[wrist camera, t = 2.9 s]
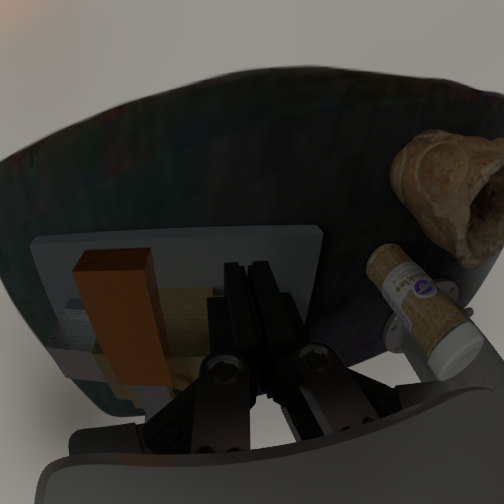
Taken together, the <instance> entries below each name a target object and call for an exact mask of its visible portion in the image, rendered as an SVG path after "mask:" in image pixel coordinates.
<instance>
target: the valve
mask: <svg viewBox="0 0 504 504" xmlns="http://www.w3.org/2000/svg"><path fill="white" fill-rule="evenodd" d="M158 292H159V298H160V303H161V308H162V313H163V318H164V322H165V327H166V332H167V336H168V340H169V345H170V349H171V353H172V357H173V361H174V373H173V386H172V390H173V393H174V396H175V397H176V396H178V395H179V394H180V393H181V392H182V391H183V390H184V389H186V388H187V387H188V386H189V385H190V384H191V383H192V382H194V381H195V380H196V379H197V378H198V377H199V370H200V366H201V363H202V361H203V360H204V359H205V357H207V356H208V355H210V354H211V353H210V341H209V328H208V314H207V299H206V298H208V297H224V295H214V296H213V290H212V287H190V288H158ZM282 293H284V292H282ZM64 310H65V312H66V314H63V313H62V314H61V316H60V318H59V320H58V322H57V324H56V327H55V329H54V331H53V333H52V336H51V338H50V340H49V343H48V345H47V349H48V351H49V352H50V354H51V355H52V357H53V359H54V360H55V362H56V363H57V365H58V366H59V368H60V370H61V371H62V372H63V374H64V375H65V377H66V378H73V379H81V380H90V381H100V382H107V383H108V385H109V386H110V388H111V390H112V391H113V393H114V394H115V396H116V398H117V399H127V400H132V402H133V403H134V405H135V407H136V408H143V407H142V405H141V403H140V401H139V399H138V398H137V396H136V394H135V392H134V390H133V388H132V386H131V385H121V384H119V382H118V380H117V378H116V376H115V374H114V372H113V370H112V368H111V366H110V364H109V362H108V360H107V358H106V356H105V354H104V352H103V350H102V348H101V346H100V344H99V341H98V339H97V337H96V335H95V332H94V330H93V328H92V325H91V323H90V321H89V318H88V316H87V313H86V311H85V308H84V305H83V303H82V300H81V298H69V300H68V303H67V305H66V307H65V309H64Z"/></svg>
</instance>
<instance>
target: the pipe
mask: <svg viewBox="0 0 504 504" xmlns="http://www.w3.org/2000/svg"><path fill="white" fill-rule="evenodd" d="M390 184H391V188H392V190H393V192H394V194H395V195H396V196H397V197H398V199H399V200H400V201H401V202H402V203H404V205H405V207H406V208H407V209H408V211H409V212H410V213H411V214H412V215H413V216H414V217H415V218H416V219H417V221H418V223H419V225H420V227H421V229H422V231H423V232H424V234H425V235H426V236H427V237H428V238H429V239H430V240H431V241H432V242H433V243H434V244H436V245H437V246H439V247H441V248H443V249H445V250H446V251H448V252H450V253H451V254H452V255H453V256H454V257H455V258H456V260H457V263H458V265H459V266H460V267H461V268H462V269H469V270H473V269H475V268H476V267H478V266H480V265H481V264H482V263H483V261H484V260H485V259H486V258H488V257H491V256H493V255H494V254H495V253H496V252H497V251H499V250H500V249H501V248H502V245H503V242H504V137H499V138H496V139H494V140H491V141H489V140H487V139H485V138H482V137H478V136H468V137H465V136H461V135H458V134H451V133H449V132H446V131H444V130H434V129H430V130H427V131H423V132H421V133H419V134H417V135H416V136H415V137H414V139H413V141H412V142H410V143H408V144H407V145H406V146H405V147H404V148H403V149H402V150H401V151H400V152H399V153H397V155H396V157H395V159H394V161H393V162H392V167H391V171H390Z"/></svg>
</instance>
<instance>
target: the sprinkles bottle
mask: <svg viewBox="0 0 504 504" xmlns="http://www.w3.org/2000/svg"><path fill="white" fill-rule="evenodd" d="M366 274H367V276H368V278H369V279H370V280H371V281H372V282H374V284H375V285H376V286H377V288H378V289H379V290H380V292H381V293H382V295H383V297H384V298H385V299H386V301H387V302H388V304H389V305H390V306H391V308H392V309H393V310H394V312H395V313H396V314H397V316H398V317H399V319H400V320H401V321H402V323H403V324H404V326H405V327H406V329H407V330H408V332H409V333H410V334H411V336H412V337H413V338H414V339H415V341H416V342H417V343H418V345H419V347H420V348H421V349H422V351H423V353H424V354H425V355H426V358H427V361H428V365H429V366H430V368H431V369H432V371H433V373H434V374H435V376H436V377H437V378H438V379H439V380H441V381H443V380H447V379H450V378H452V377H453V376H455V375H456V374H458V373H459V372H461V371H462V370H463V369H464V368H466V367H467V366H468V365H469V364H470V363H471V362H472V361H473V359H474V358H475V357H476V356H477V355H478V353H479V352H480V350H481V348H482V346H483V343H484V338H483V336H482V335H481V333H480V332H479V331H478V329H477V328H476V327H475V326H474V324H473V323H471V322H469V321H468V320H467V319H465V318H464V317H463V315H462V314H461V313H460V311H459V310H458V309H457V308H456V306H455V305H454V304H453V303H452V302H451V301H450V300H449V299H448V297H447V296H446V295H445V294H444V293H443V292H442V291H441V290H440V289H439V287H437V285H436V283H435V282H434V281H433V280H432V279H431V278H430V277H429V276H428V275H427V273H426V272H425V271H424V270H423V269H422V268H421V267H420V266H419V265H418V264H416V263H415V262H414V261H413V260H412V259H411V258H410V257H409V256H408V255H407V254H406V253H405V252H404V251H403V249H402V248H401V247H400V246H399V245H397V244H394V243H392V244H391V243H389V244H385V245H382V246H381V247H379V248H377V249H376V250H375V251H374V252H373V254H372V255H371V256H370V258H369V260H368V262H367V267H366Z"/></svg>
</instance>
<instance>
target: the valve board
mask: <svg viewBox="0 0 504 504" xmlns="http://www.w3.org/2000/svg"><path fill="white" fill-rule="evenodd" d="M323 234H324V233H323V232H322V231H321V229H320V228H319V227H318V226H317V225H264V226H221V227H190V228H165V229H143V230H123V231H105V232H89V233H74V234H60V235H46V236H37V237H36V238H35V239H34V240H33V241H32V242H31V243H30V244H29V246H30V249H31V252H32V255H33V258H34V261H35V264H36V267H37V270H38V272H39V275H40V278H41V280H42V283H43V285H44V288H45V290H46V293H47V295H48V298H49V300H50V302H51V305H52V307H53V309H54V311H55V314H56V316H57V318H58V320H59V318H60V316H61V314H62V313H63V314H66V312H65V310H64V309H65V307H66V305H67V303H68V300H69V298H81V297H80V295H79V292H78V289H77V286H76V283H75V280H74V277H73V274H72V270H73V269H74V267H75V265H76V264H77V262H78V260H79V259H80V257H81V256H82V254H83V253H84V251H85V250H96V249H119V248H144V247H151V250H152V256H153V263H154V269H155V275H156V281H157V287H158V288H190V287H212V290H213V296H214V295H224V263H227V262H238V263H239V266H243V265H244V267H245V271H246V275H247V268H248V265H252V264H253V261H268V262H269V265H270V267H271V270H272V273H273V275H274V278H275V280H276V283H277V285H278V288H279V291H280V293H282V292H290V293H291V295H292V297H293V299H294V302H295V304H296V306H297V309H298V311H299V313H300V316H301V318H302V320H303V323H304V324H305V320H306V316H307V312H308V307H309V303H310V298H311V294H312V289H313V285H314V280H315V275H316V270H317V265H318V260H319V255H320V250H321V245H322V239H323Z"/></svg>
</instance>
